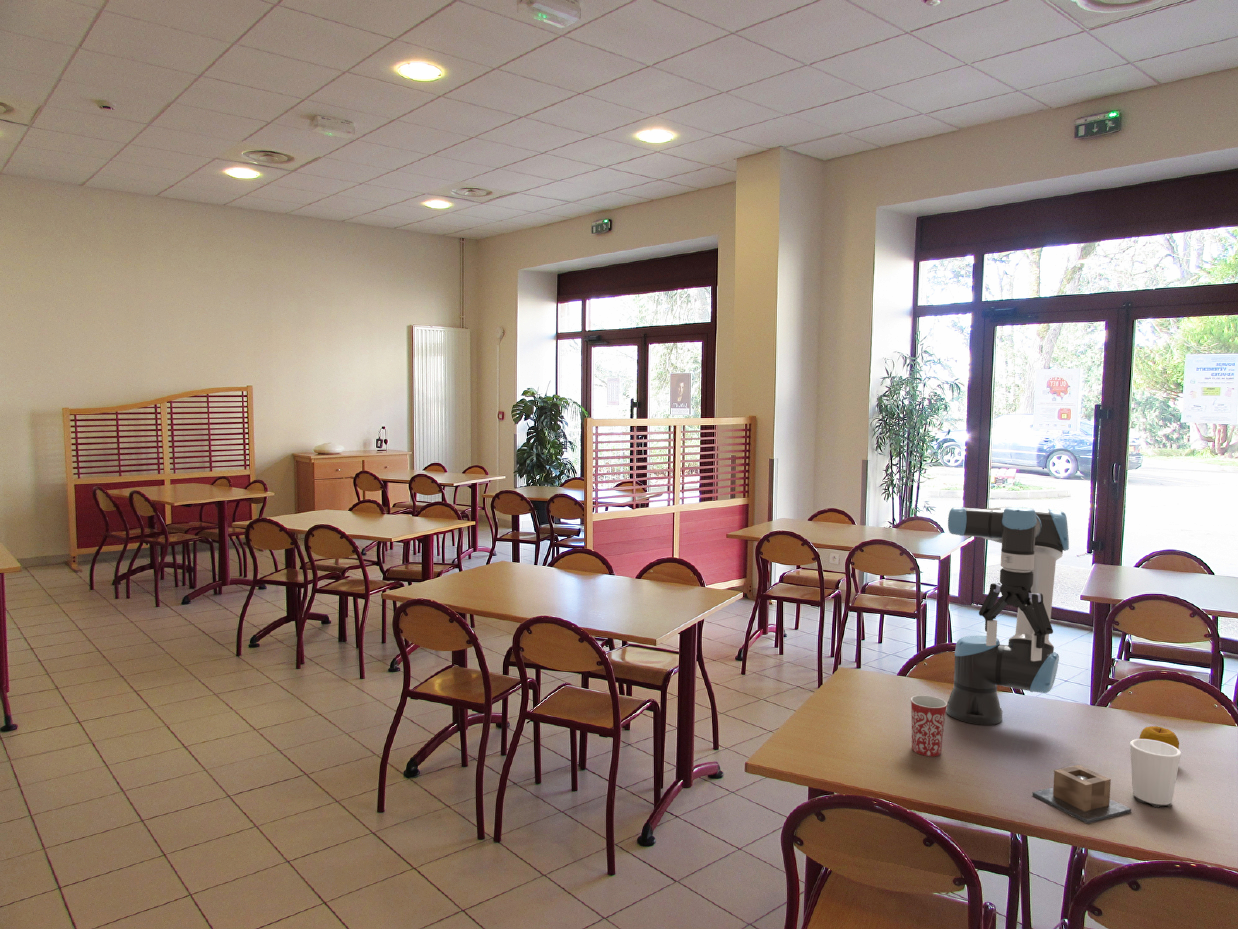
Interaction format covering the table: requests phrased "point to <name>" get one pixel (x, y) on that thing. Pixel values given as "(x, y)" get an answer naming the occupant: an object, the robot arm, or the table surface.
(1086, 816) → the peg base
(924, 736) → the mug
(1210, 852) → the table surface
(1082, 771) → the collar
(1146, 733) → the apple
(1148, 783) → the cup
